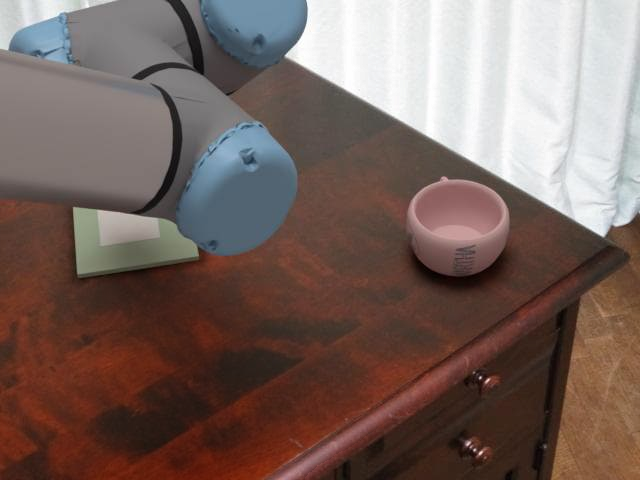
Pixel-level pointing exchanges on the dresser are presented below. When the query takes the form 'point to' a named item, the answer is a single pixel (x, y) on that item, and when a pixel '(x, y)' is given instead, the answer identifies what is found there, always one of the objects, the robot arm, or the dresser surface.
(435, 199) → the mug
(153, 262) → the chalk board
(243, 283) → the dresser surface
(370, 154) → the dresser surface
